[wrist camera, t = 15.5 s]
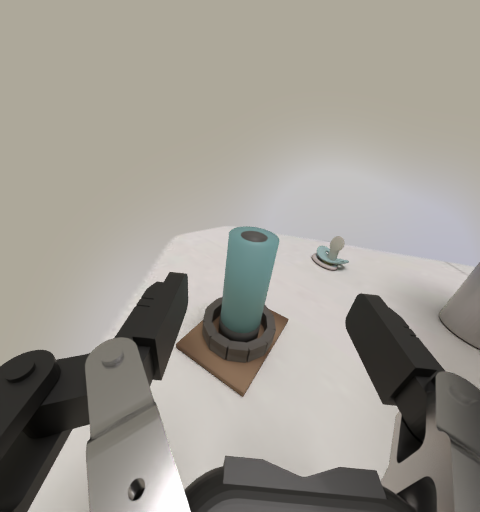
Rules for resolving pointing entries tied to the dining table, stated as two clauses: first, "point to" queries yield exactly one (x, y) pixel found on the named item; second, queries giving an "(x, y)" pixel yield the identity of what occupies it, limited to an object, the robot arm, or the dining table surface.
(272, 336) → the socket
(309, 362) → the dining table surface
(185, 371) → the dining table surface
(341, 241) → the pacifier
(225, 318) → the teal cylinder
